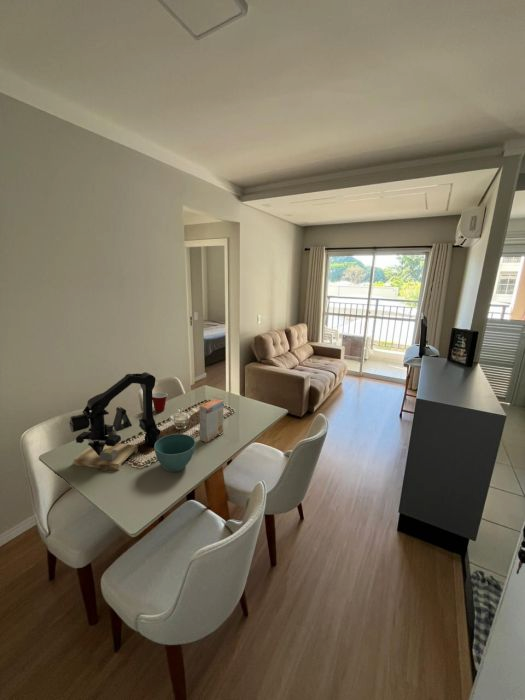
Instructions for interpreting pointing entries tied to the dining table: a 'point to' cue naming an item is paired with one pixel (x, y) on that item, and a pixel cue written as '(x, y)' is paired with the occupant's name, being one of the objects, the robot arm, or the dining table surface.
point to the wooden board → (93, 460)
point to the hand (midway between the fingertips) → (99, 455)
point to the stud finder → (108, 454)
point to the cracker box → (211, 419)
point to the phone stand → (118, 419)
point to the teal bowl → (174, 451)
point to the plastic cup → (159, 401)
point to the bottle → (112, 432)
